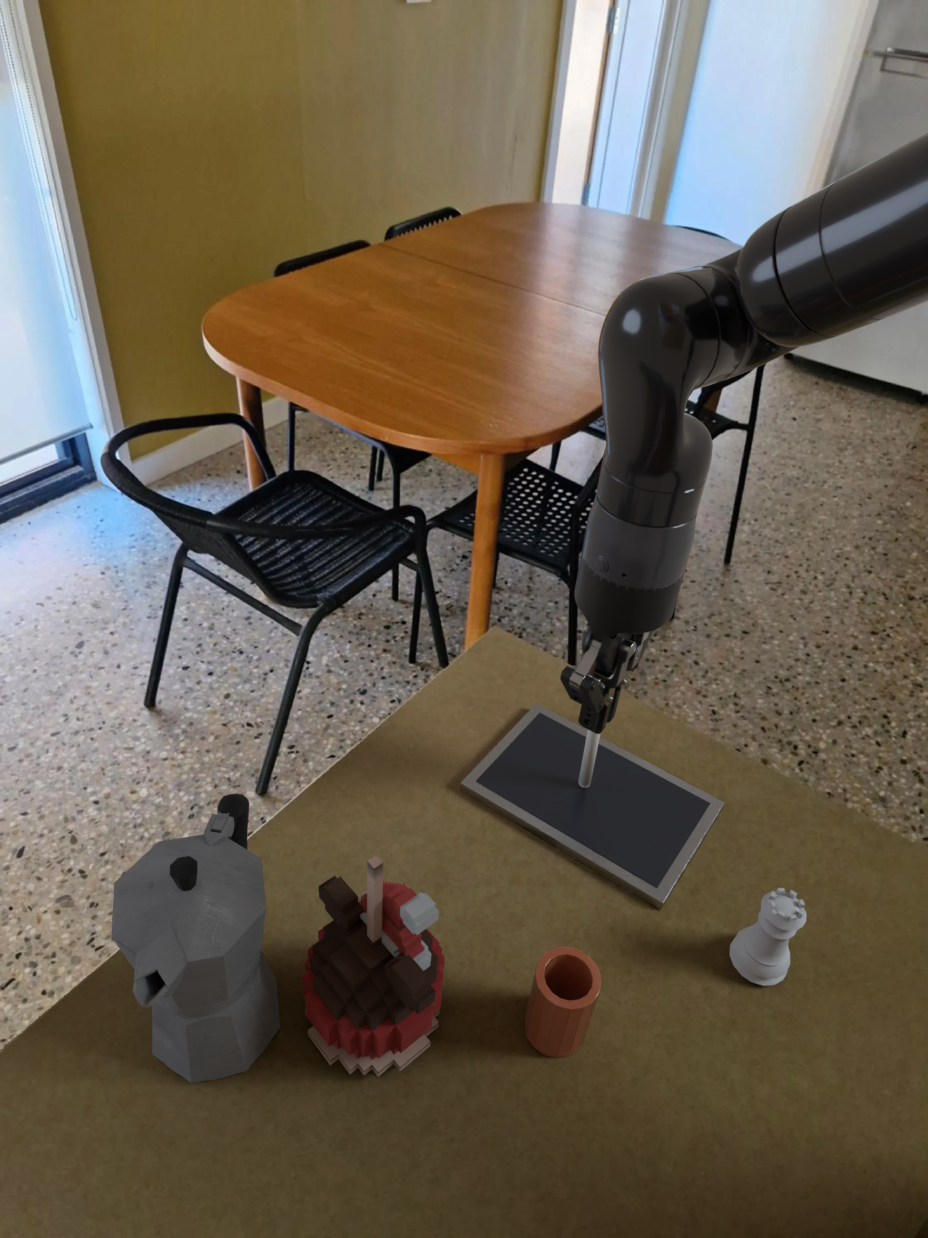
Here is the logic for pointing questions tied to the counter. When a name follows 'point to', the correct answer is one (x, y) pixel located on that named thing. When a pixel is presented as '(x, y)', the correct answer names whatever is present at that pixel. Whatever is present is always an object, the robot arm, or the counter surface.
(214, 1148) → the counter surface
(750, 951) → the rook chess piece
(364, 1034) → the cake
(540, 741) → the tablet
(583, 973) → the pen cup
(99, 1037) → the counter surface
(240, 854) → the coffeepot
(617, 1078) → the counter surface
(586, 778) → the stylus
